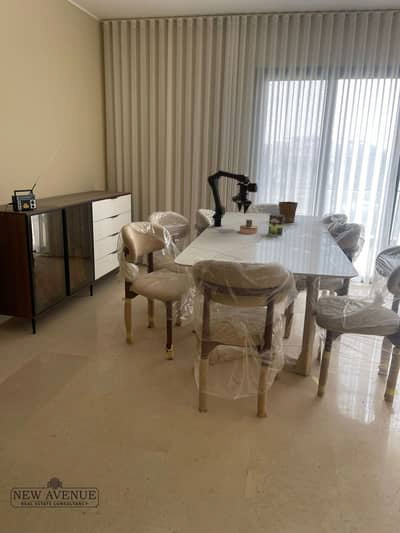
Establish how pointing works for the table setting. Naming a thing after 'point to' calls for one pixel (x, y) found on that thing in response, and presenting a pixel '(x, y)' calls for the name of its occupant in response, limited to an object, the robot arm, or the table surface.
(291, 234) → the table surface
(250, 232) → the bowl
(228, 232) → the mat
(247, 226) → the lid
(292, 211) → the plant pot
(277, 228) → the coffee can
